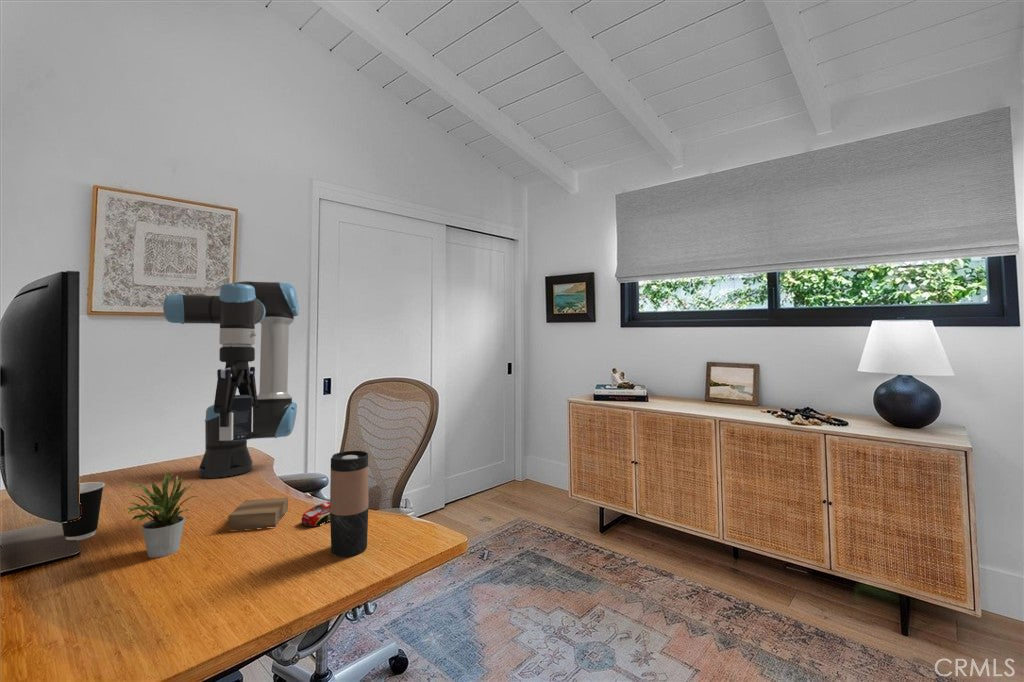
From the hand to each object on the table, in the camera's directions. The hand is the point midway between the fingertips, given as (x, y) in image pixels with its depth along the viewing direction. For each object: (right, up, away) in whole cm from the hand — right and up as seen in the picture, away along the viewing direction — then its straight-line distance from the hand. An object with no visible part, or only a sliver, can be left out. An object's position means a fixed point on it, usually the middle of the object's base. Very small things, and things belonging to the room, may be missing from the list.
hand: (236, 435), depth 111 cm
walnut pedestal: (+7, -21, -2) cm, 22 cm away
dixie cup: (-28, -20, -11) cm, 36 cm away
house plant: (-5, -20, -18) cm, 28 cm away
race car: (+23, -21, 0) cm, 31 cm away
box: (0, -1, 0) cm, 1 cm away
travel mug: (+34, -21, -17) cm, 43 cm away
